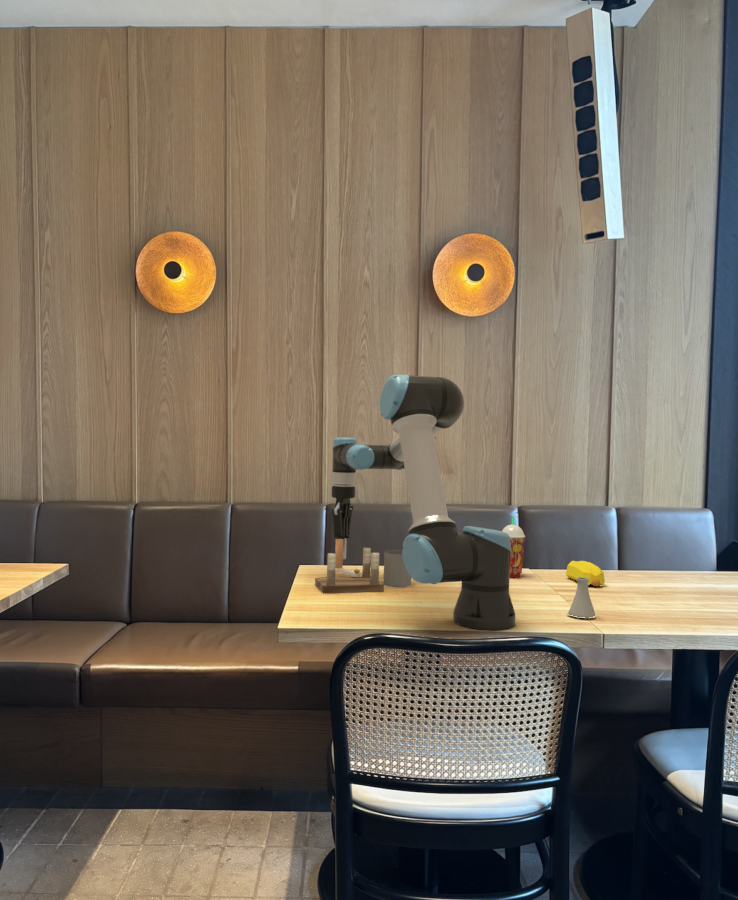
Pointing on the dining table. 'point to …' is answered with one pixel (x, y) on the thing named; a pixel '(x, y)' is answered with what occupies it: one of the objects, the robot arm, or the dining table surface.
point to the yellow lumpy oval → (585, 572)
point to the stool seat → (352, 583)
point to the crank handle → (340, 560)
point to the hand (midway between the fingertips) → (341, 558)
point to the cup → (395, 569)
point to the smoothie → (515, 548)
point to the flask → (582, 600)
